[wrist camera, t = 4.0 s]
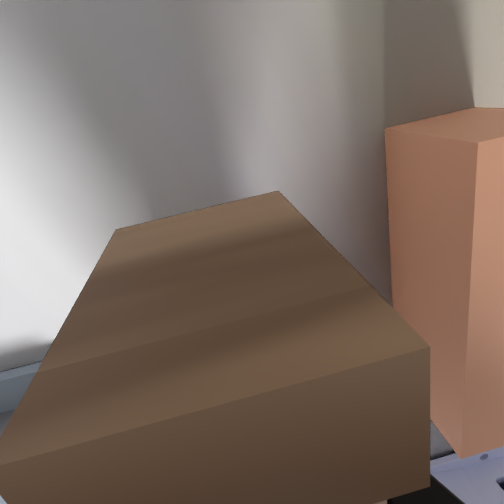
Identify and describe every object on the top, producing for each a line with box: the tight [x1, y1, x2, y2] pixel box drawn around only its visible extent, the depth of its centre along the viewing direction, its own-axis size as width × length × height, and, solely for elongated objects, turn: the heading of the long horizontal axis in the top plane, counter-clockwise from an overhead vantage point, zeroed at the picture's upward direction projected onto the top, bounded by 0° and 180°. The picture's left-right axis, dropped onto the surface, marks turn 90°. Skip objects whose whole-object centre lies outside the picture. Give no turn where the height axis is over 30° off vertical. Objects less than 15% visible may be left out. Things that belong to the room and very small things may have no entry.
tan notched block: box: [0, 191, 430, 504], centre depth 8 cm, size 12×4×6 cm, turn 11°
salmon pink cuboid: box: [385, 107, 504, 459], centre depth 14 cm, size 12×4×5 cm, turn 11°
